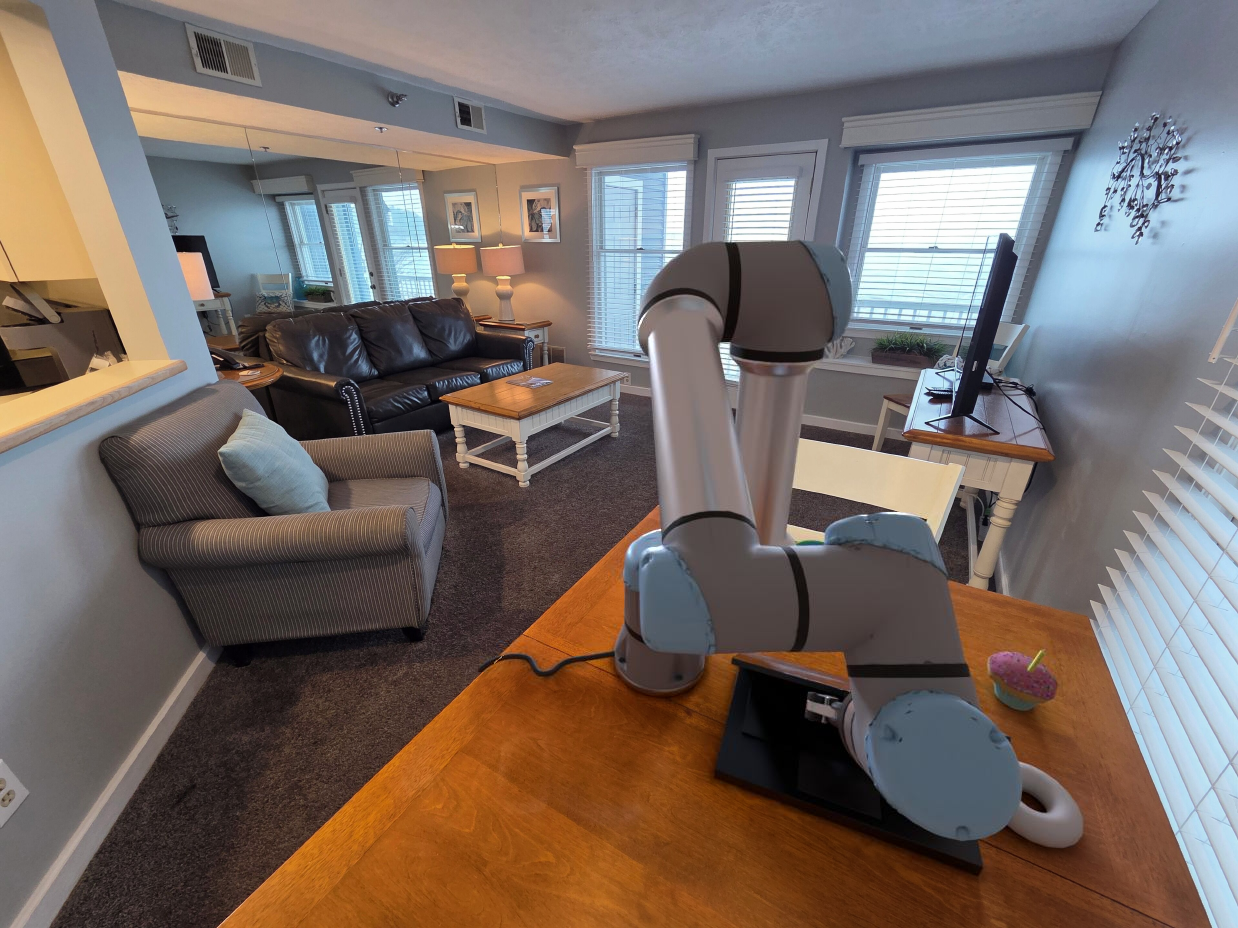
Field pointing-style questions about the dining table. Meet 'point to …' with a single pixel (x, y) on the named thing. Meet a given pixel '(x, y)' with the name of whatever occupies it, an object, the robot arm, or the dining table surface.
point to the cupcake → (1021, 679)
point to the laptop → (815, 769)
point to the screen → (796, 673)
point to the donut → (1061, 817)
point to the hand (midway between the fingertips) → (851, 711)
